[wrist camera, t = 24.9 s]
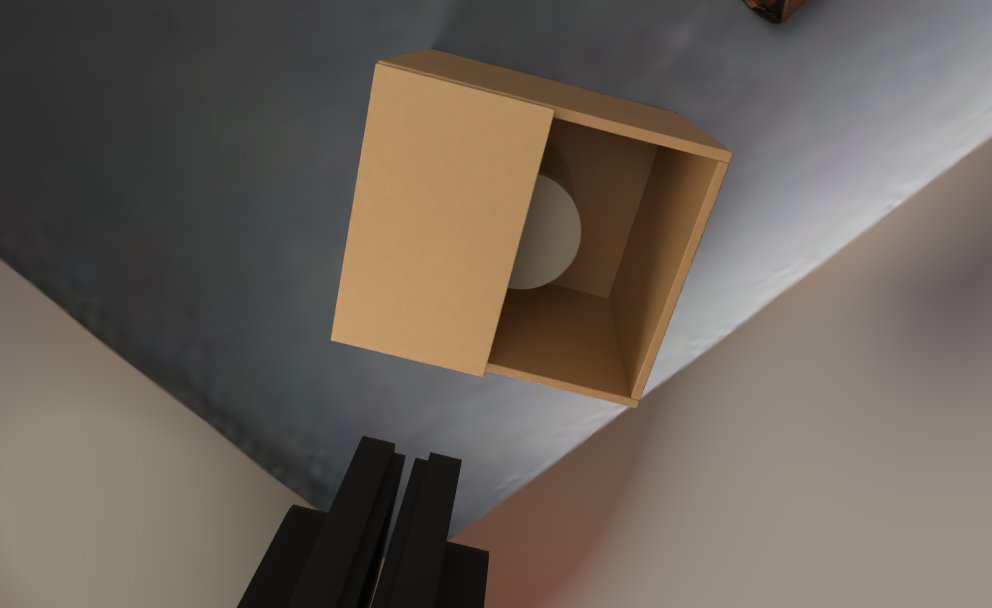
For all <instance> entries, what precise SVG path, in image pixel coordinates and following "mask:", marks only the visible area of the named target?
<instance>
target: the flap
mask: <svg viewBox="0 0 992 608" xmlns="http://www.w3.org/2000/svg"><path fill="white" fill-rule="evenodd" d="M554 112H555V109H554V108H551V107H547V106H543V105H539V104H536V103H532V102H528V101H524V100H520V99H516V98H512V97H509V96H505V95H501V94H497V93H493V92H489V91H485V90H481V89H478V88H474V87H470V86H466V85H462V84H458V83H454V82H451V81H447V80H443V79H439V78H435V77H431V76H427V75H424V74H420V73H416V72H412V71H408V70H404V69H400V68H396V67H393V66H389V65H385V64H381V63H376V65H375V71H374V77H373V83H372V90H371V96H370V102H369V108H368V114H367V120H366V127H365V133H364V139H363V145H362V151H361V157H360V164H359V170H358V176H357V182H356V188H355V194H354V200H353V207H352V213H351V219H350V225H349V231H348V237H347V244H346V250H345V256H344V262H343V268H342V274H341V280H340V287H339V293H338V299H337V305H336V311H335V317H334V324H333V330H332V336H331V340H333V341H337V342H341V343H345V344H349V345H353V346H358V347H362V348H366V349H370V350H374V351H378V352H382V353H386V354H391V355H395V356H399V357H403V358H407V359H411V360H415V361H420V362H424V363H428V364H432V365H436V366H440V367H444V368H448V369H453V370H457V371H461V372H465V373H469V374H473V375H477V376H481V377H483V376H484V373H485V370H486V366H487V362H488V358H489V355H490V351H491V347H492V344H493V340H494V336H495V332H496V329H497V325H498V321H499V317H500V314H501V310H502V306H503V303H504V299H505V295H506V291H507V288H508V284H509V280H510V276H511V273H512V269H513V265H514V262H515V258H516V254H517V250H518V247H519V243H520V239H521V235H522V232H523V228H524V224H525V221H526V217H527V213H528V209H529V206H530V202H531V198H532V194H533V191H534V187H535V183H536V179H537V176H538V172H539V168H540V165H541V161H542V157H543V153H544V150H545V146H546V142H547V138H548V135H549V131H550V127H551V124H552V120H553V116H554Z"/></svg>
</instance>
